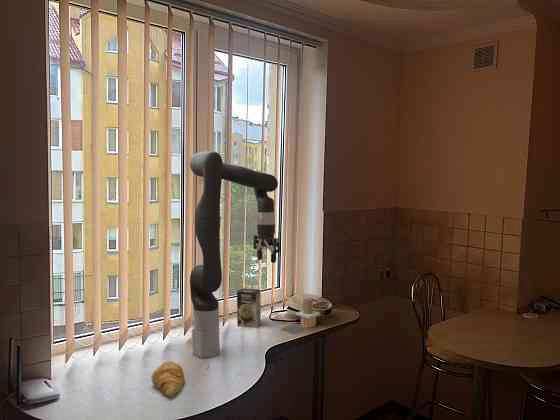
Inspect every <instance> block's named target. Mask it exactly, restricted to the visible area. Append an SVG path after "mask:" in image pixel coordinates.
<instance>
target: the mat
mask: <svg viewBox="0 0 560 420" xmlns="http://www.w3.org/2000/svg"><path fill="white" fill-rule="evenodd" d="M308 330H309V328H307V327H303V326H300V325H298V324H291V325H289V326H286V327H283V328H280V331H283V332H286V333H288V334H292V335H297V334H300V333H302V332H305V331H308Z"/></svg>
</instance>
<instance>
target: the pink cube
mask: <svg viewBox="0 0 560 420" xmlns="http://www.w3.org/2000/svg"><path fill="white" fill-rule="evenodd" d="M316 321H317V316H315V317H312V318H309V319H308V318H305V317H301V316H300V325H301V326H300V327H303V328H312V327H313V328H314V327H315V326H316V325H317V324H316V323H317V322H316Z"/></svg>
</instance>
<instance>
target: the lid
mask: <svg viewBox="0 0 560 420" xmlns="http://www.w3.org/2000/svg"><path fill="white" fill-rule="evenodd" d="M313 300H314V299H312V298H303V299H302V310H300V311H298V312H296V313H295V315H296V316H299V317H300V318H301V317H305V318H308V319H309V318H312V317H315V316H316V317H318V316H321V312H318V311H315V310H314V301H313Z"/></svg>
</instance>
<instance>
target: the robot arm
mask: <svg viewBox="0 0 560 420" xmlns="http://www.w3.org/2000/svg"><path fill="white" fill-rule="evenodd" d="M189 159H190V160H189V166H190V171H191V172H192V173H193V174H194V175H196V176H198V177H202V178H203V190H202V194H201V197H200V199H199V202H198V204H197V206H196V207H195V212H194V232H195V237H196V239H197V241H198V244H199V247H200V248H201V249H200V250H201V253H202V264H198V265H195V266H194V267H193V268H192V270H191V272H190V276H189V287H190V288H189V291H190V301H191V303H192V305H193V328H192V330H191V338H192V354H193V355H194V356H197V357H198V358H200V359H204V358H212V357H216V356H217V355H219V354H220V352H221V349H220V348H221V347H220V345H221V344H220V341H221V340H220V316H219V315H220V308H219V305H220V304H219V300H218V298H217V297H216V296H215V295H214V293H215V292H216V291H218V290H219V288H220V287H221V285H222V281H223V271H222V270H223V269H222V260H221V259H222V258H221V191H222V190H221V188H222V183H223V182H222V180H225V181H227V182H231V183H234V184H236V185H237V184H238V185H240V186H245V187H246V188H253V191H254V196H255V199H256V201H257V203H256V204H257V205H256V207H257V214H256V215H257V216H256V232H257V233H256V234H255V235H253V244H252V245H253V250H255V251H256V259H257V260H258V261H262V260H263V249H264V248H267V249H268V250H269V252H270V263H272V264H276V263H277V254H278V253H280V252H281V244H280V243H281V241H280V238H279V237H275V233H276V216H275V200H274V199H273V198H272V197H270V196H269V195H268V193H272V192H275V191H276V190H277V189H278V185H279V181H278V179H277V177H275V176H274V175H273V174H270V173H267V172H266V173H265V172H261V171H255V170H254V169H251V168H249V167H245V166H241V165H236V164H229V163H224V161H223V158H222V156H221V155H220V153H218V152H217V151H214V150H212V151H211V150H209V151H198V152H196V153H194V154H193V155H191V158H189Z"/></svg>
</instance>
